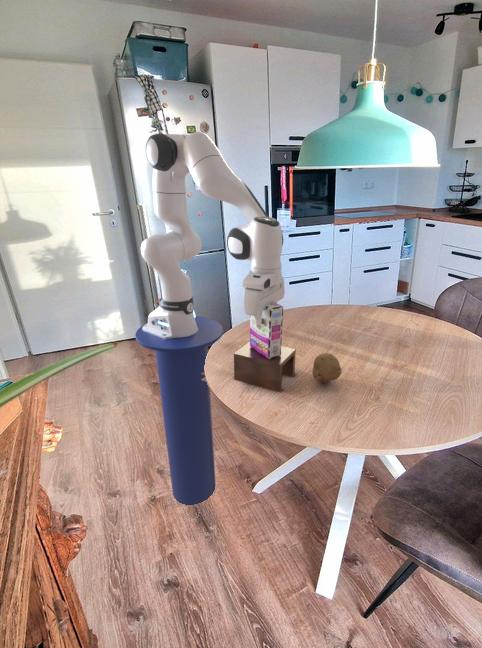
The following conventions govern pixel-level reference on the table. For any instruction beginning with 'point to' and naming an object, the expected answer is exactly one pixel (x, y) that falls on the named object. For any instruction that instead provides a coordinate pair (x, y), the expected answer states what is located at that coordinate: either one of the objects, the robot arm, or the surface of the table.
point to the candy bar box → (268, 331)
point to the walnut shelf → (263, 367)
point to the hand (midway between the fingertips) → (265, 320)
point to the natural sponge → (326, 368)
